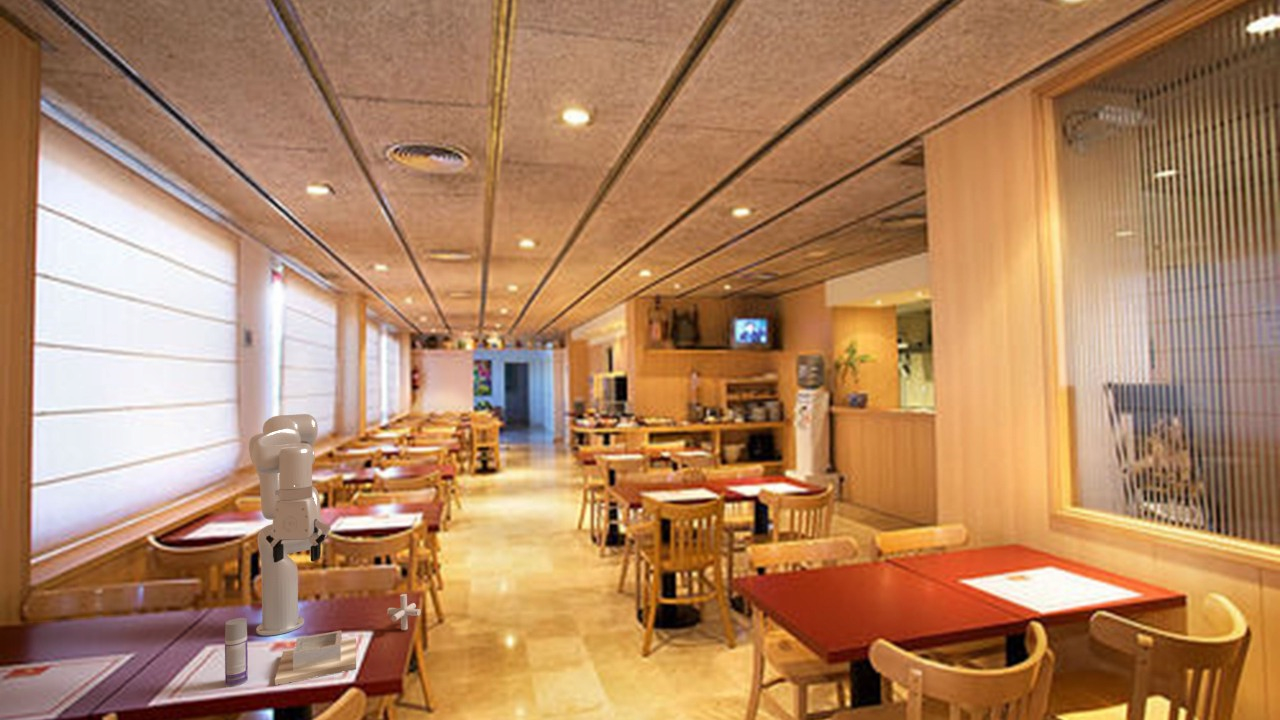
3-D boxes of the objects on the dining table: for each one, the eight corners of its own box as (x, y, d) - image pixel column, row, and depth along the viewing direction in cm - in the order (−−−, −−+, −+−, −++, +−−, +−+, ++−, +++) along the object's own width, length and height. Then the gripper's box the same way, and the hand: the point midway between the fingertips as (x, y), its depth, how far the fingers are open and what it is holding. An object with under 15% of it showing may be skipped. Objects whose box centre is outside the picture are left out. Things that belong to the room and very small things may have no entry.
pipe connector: (409, 636, 178) (409, 601, 178) (378, 635, 180) (378, 600, 180) (428, 623, 188) (427, 589, 188) (398, 621, 190) (398, 588, 190)
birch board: (283, 656, 167) (283, 651, 167) (356, 643, 175) (356, 637, 175) (275, 685, 151) (274, 679, 151) (356, 669, 158) (355, 663, 158)
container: (232, 678, 155) (231, 618, 156) (251, 676, 156) (250, 617, 156) (221, 687, 151) (220, 625, 151) (241, 686, 151) (240, 624, 152)
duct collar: (297, 653, 165) (296, 638, 166) (341, 645, 170) (341, 630, 170) (293, 670, 156) (292, 654, 156) (340, 660, 160) (340, 645, 160)
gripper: (254, 497, 157) (254, 565, 156) (320, 496, 157) (322, 564, 156) (272, 492, 164) (273, 557, 164) (336, 490, 164) (337, 555, 164)
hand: (297, 560), depth 160 cm, fingers open, 9 cm apart
